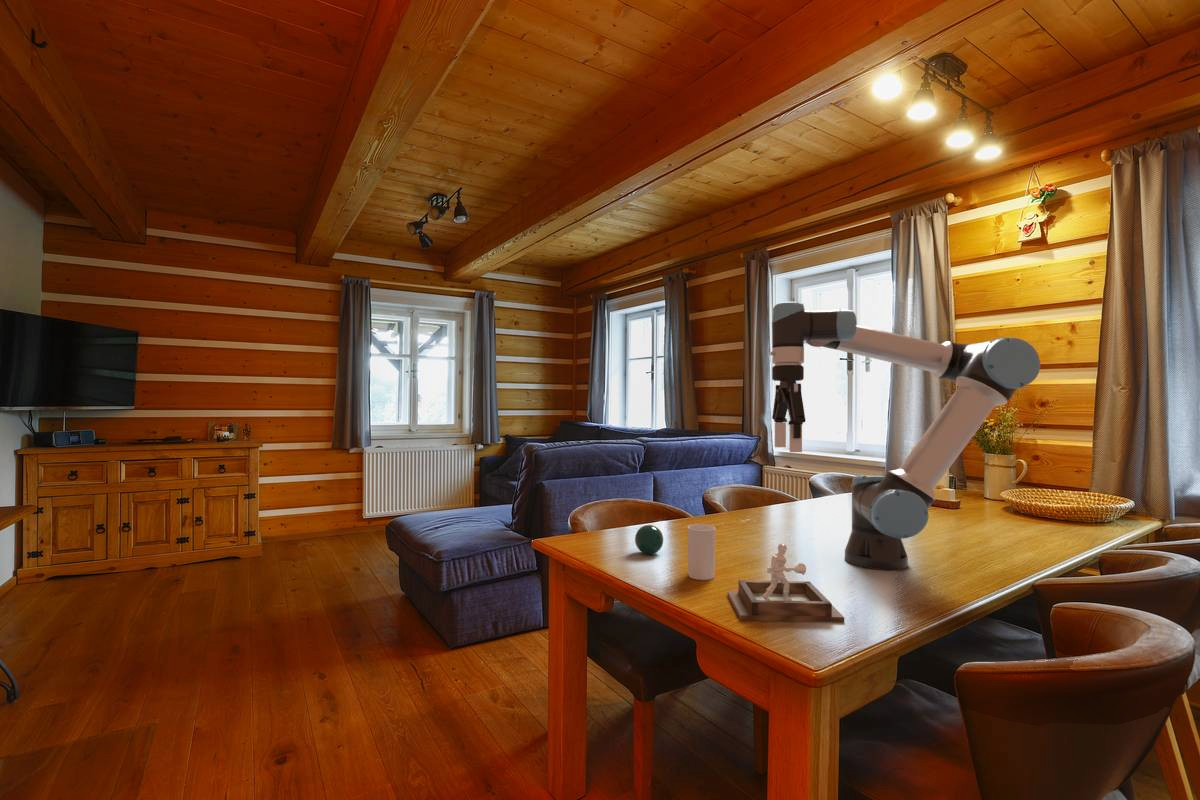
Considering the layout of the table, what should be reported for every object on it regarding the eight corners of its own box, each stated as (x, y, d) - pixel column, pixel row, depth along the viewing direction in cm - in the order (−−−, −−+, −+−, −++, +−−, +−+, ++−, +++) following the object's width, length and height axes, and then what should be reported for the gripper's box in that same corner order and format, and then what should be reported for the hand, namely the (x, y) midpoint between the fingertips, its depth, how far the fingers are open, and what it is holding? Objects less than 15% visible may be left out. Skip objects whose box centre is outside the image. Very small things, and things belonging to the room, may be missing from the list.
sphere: (629, 554, 158) (629, 526, 158) (644, 548, 164) (644, 520, 164) (654, 559, 153) (654, 529, 153) (668, 552, 160) (668, 524, 160)
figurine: (756, 601, 118) (756, 544, 118) (792, 595, 122) (792, 539, 122) (771, 609, 114) (772, 549, 114) (808, 603, 117) (808, 545, 117)
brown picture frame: (819, 597, 124) (819, 581, 124) (844, 622, 110) (844, 604, 110) (727, 595, 125) (727, 579, 125) (740, 620, 111) (740, 602, 111)
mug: (717, 581, 135) (717, 530, 135) (688, 580, 136) (688, 530, 136) (711, 568, 145) (711, 521, 145) (685, 567, 146) (685, 521, 146)
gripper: (760, 367, 155) (760, 445, 155) (786, 361, 130) (786, 454, 130) (788, 367, 154) (788, 445, 154) (820, 361, 129) (819, 454, 130)
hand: (787, 449), depth 142 cm, fingers open, 13 cm apart
